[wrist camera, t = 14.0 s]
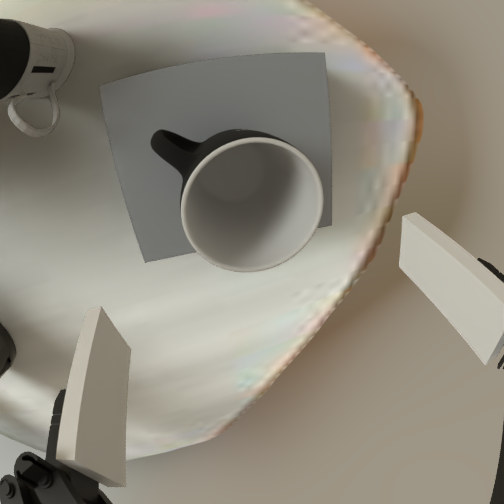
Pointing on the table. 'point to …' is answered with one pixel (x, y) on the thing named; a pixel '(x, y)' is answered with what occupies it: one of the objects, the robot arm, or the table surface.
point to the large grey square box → (210, 128)
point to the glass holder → (33, 67)
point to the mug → (244, 196)
